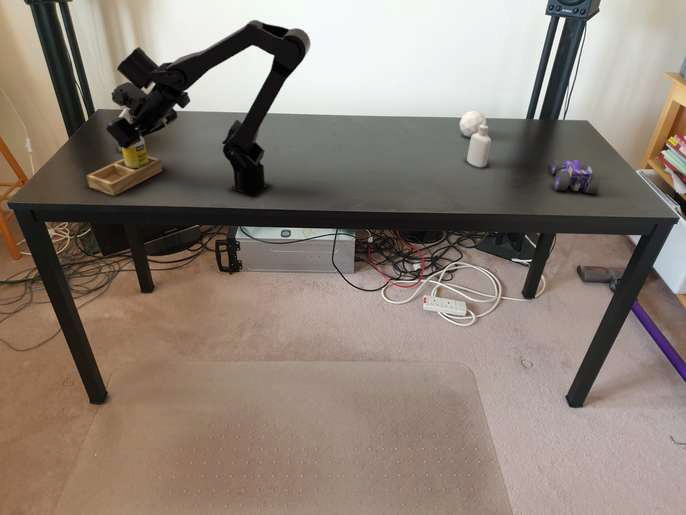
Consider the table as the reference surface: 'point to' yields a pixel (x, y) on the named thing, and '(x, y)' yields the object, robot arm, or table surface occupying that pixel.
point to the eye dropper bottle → (479, 147)
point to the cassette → (127, 117)
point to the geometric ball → (471, 123)
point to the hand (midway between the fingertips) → (128, 141)
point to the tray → (122, 176)
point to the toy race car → (574, 176)
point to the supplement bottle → (136, 155)
